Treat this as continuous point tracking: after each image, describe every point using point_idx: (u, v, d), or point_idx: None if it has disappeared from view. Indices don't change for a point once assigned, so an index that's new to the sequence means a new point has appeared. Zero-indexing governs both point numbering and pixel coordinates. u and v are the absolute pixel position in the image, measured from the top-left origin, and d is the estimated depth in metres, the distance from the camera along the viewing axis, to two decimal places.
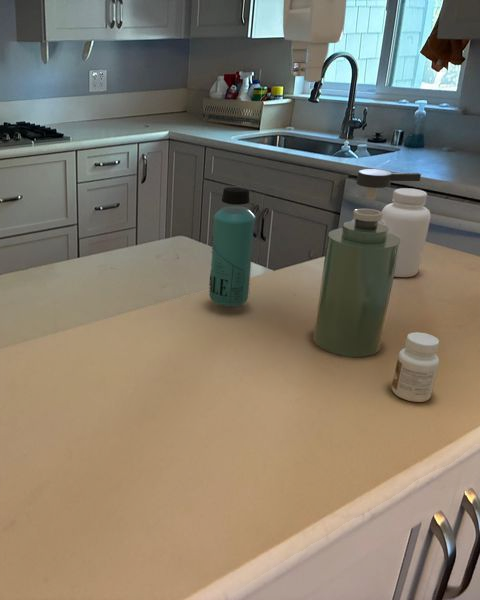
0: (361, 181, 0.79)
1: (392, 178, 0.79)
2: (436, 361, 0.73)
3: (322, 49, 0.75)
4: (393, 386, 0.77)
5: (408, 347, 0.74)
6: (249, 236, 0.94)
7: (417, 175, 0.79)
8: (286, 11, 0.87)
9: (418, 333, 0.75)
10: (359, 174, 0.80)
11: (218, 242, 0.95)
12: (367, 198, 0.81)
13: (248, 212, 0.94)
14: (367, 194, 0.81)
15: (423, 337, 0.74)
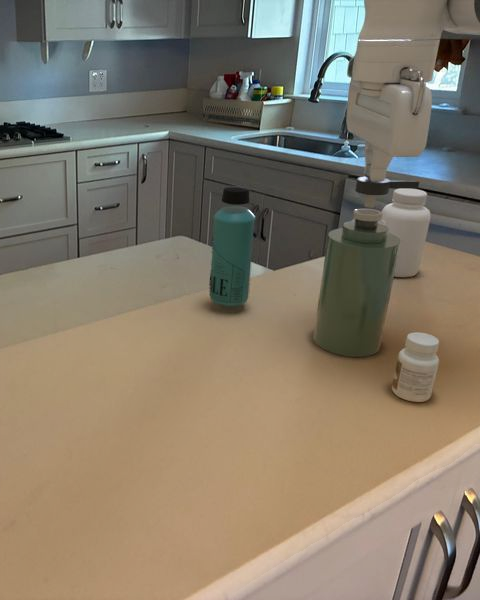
0: (360, 188, 0.80)
1: (391, 185, 0.79)
2: (436, 361, 0.73)
3: None
4: (393, 386, 0.77)
5: (408, 347, 0.74)
6: (249, 236, 0.94)
7: (415, 183, 0.79)
8: (351, 104, 0.84)
9: (418, 333, 0.75)
10: (358, 181, 0.80)
11: (218, 242, 0.95)
12: (366, 205, 0.81)
13: (248, 212, 0.94)
14: (366, 201, 0.81)
15: (423, 337, 0.74)
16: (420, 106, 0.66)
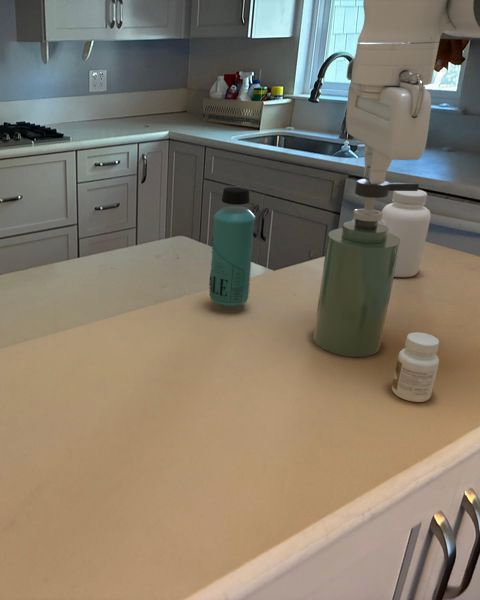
0: (359, 191, 0.80)
1: (390, 188, 0.80)
2: (436, 361, 0.73)
3: None
4: (393, 386, 0.77)
5: (408, 347, 0.74)
6: (249, 236, 0.94)
7: (415, 185, 0.79)
8: (351, 107, 0.84)
9: (418, 333, 0.75)
10: (357, 184, 0.80)
11: (218, 242, 0.95)
12: (365, 208, 0.81)
13: (248, 212, 0.94)
14: (365, 204, 0.81)
15: (423, 337, 0.74)
16: (419, 109, 0.67)
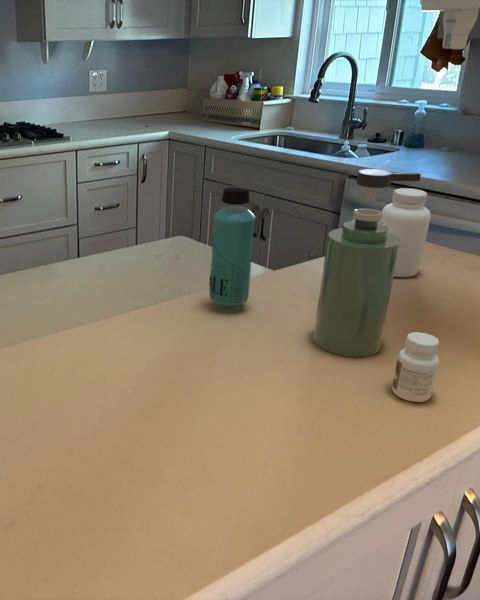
0: (361, 181, 0.79)
1: (392, 178, 0.79)
2: (436, 361, 0.73)
3: (472, 16, 0.77)
4: (393, 386, 0.77)
5: (408, 347, 0.74)
6: (249, 236, 0.94)
7: (417, 175, 0.79)
8: None
9: (418, 333, 0.75)
10: (359, 174, 0.80)
11: (218, 242, 0.95)
12: (367, 198, 0.81)
13: (248, 212, 0.94)
14: (367, 194, 0.81)
15: (423, 337, 0.74)
16: None
